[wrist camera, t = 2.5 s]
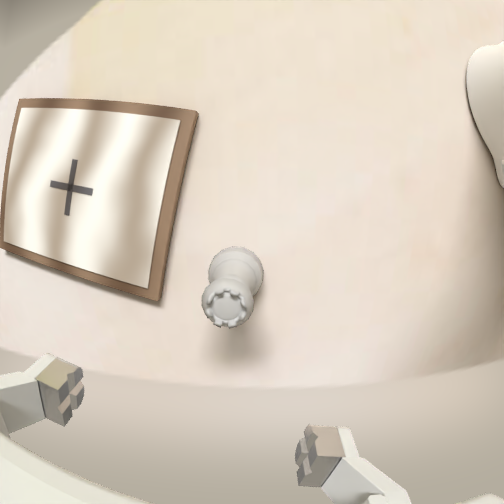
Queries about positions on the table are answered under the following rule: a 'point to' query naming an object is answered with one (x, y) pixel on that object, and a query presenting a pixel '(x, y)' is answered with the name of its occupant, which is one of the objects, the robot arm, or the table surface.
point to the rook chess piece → (232, 286)
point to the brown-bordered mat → (96, 188)
